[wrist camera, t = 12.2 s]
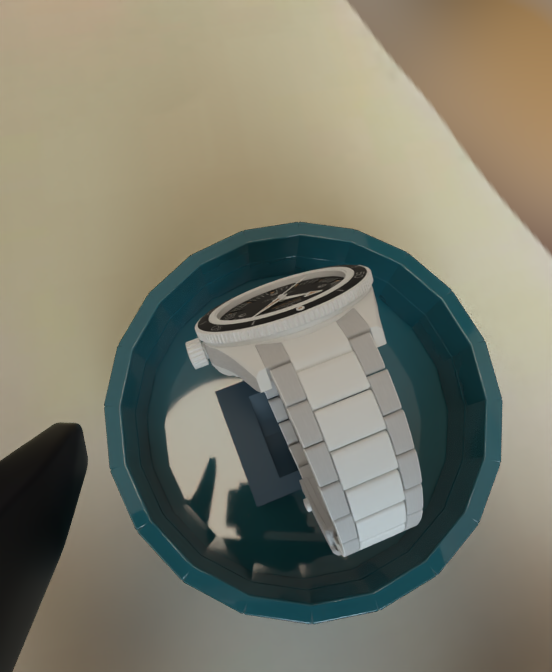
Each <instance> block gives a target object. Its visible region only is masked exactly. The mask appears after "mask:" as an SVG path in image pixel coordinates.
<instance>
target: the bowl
mask: <svg viewBox="0 0 552 672" xmlns="http://www.w3.org/2000/svg"><path fill="white" fill-rule="evenodd" d="M338 265H361V266H366V267H368V268H369V269H370V270H371V273H372V277H373V283H372V287H373V291H374V294H375V298H376V302H377V305H378V311H379V317H380V321H381V324H382V328H383V331H384V335H385V339H386V342H387V343H386V344H385V345H382V346H380V347H377V348H378V350H379V353H380V355H381V357H382V360H383V362H384V365H385V368H384V369H383V370H385V369H386V370H388V372H389V374H390V377H391V379H392V382H393V384H394V387H395V390H396V392H397V395H398V398H399V401H400V403H401V410H403V411H404V413H405V416H406V419H407V422H408V425H409V429H410V432H411V436H412V440H413V443H414V449H415V450H416V453H417V456H418V461H419V466H420V471H421V478H422V482H421V485H422V491H423V508H422V511H423V513H422V518H421V520H420V522H419V523H418V525H416V526H414V527H412V528H410V529H407V530H405V531H403V532H401V533H398V534H396V535H394V536H392V537H389V538H387V539H385V540H382V541H380V542H378V543H376V544H373V545H371V546H369V547H366V548H364V549H362V550H359V551H357V552H355V553H352V554H350V555H348V556H346V557H343V556H342V555H339V556H338V555H336V554H334V553H333V552H332V550H331V548H330V546H329V544H328V542H327V541H326V539H325V537H324V535H323V533H322V531H321V529H320V527H319V525H318V523H317V521H316V518H315V516H314V514H313V512H312V511H310V512H308V511H307V510H306V508H305V505H304V502H303V499H305V498H306V497H305V495H304V493H303V490H302V489H300V490H298V491H295V492H293V493H291V494H288V495H286V496H283V497H281V498H279V499H276V500H274V501H271V502H269V503H267V504H264V505H262V506H259V507H257V505H256V502H255V500H254V497H253V494H252V492H251V489H250V486H249V483H248V481H247V478H246V475H245V473H244V470H243V467H242V464H241V462H240V459H239V456H238V453H237V451H236V448H235V445H234V443H233V440H232V437H231V434H230V432H229V429H228V426H227V424H226V421H225V418H224V415H223V413H222V410H221V407H220V405H219V402H218V399H217V396H216V394H215V392H216V391H218V390H221V389H223V388H226V387H229V386H231V385H234V384H236V383H239V382H241V381H244V380H243V379H241V378H240V377H236V376H227V375H224V374H222V373H220V372H219V371H218V370H217V369H216V368H215V367H214V366H213V365H212V363H211V361H210V359H208V361H209V365H206V366H204V367H201V368H198V369H195V368H194V366H193V365H192V363H191V361H190V358H189V356H188V353H187V349H186V344H185V343H186V342H188V341H191V340H194V339H196V338H198V336H197V334H196V331H195V325H196V324H197V322H198V321H199V320H200V319H201V318H202V317H203V316H204V315H205V314H206V313H208V312H209V311H210V310H212V309H213V308H215V307H217V306H218V305H220V304H222V303H224V302H225V301H227V300H229V299H231V298H233V297H235V296H237V295H240V294H242V293H244V292H246V291H249V290H251V289H254V288H256V287H259V286H261V285H264V284H267V283H270V282H272V281H275V280H278V279H281V278H285V277H288V276H291V275H295V274H298V273H302V272H306V271H310V270H315V269H319V268H324V267H330V266H338ZM201 342H203V341H201ZM383 370H380V371H383ZM380 371H378V372H380ZM378 372H375V373H378ZM375 373H373V374H375ZM373 374H370V375H373ZM370 375H369V376H370ZM501 399H502V397H501V394H500V390H499V387H498V383H497V380H496V376H495V373H494V369H493V366H492V363H491V359H490V356H489V352H488V349H487V345H486V342H485V341H484V338H483V337H482V335H481V334H480V332H479V331H478V329H477V328H476V326H475V325H474V323H473V322H472V320H471V319H470V317H469V315H468V314H467V312H466V311H465V309H464V308H463V306H462V305H461V303H460V302H459V300H458V299H457V297H456V296H455V294H454V293H453V292H452V291H451V289H450V288H449V287H448V286H446V285H445V284H444V283H443V282H442V281H441V280H439V279H438V278H437V277H436V276H435V275H433V274H432V273H431V272H430V271H429V270H428V269H426V268H425V267H424V266H423V265H422V264H420V263H419V262H418V261H417V260H416V259H415V258H413V257H412V256H411V255H410V254H409V253H407V252H405V251H403V250H401V249H399V248H396V247H394V246H392V245H390V244H387V243H385V242H383V241H381V240H378V239H376V238H374V237H372V236H369V235H367V234H365V233H363V232H360V231H358V230H354V229H349V228H342V227H335V226H327V225H320V224H312V223H305V222H299V223H298V222H294V223H288V224H281V225H275V226H268V227H262V228H255V229H249V230H244V231H241V232H238V233H236V234H234V235H232V236H230V237H228V238H226V239H224V240H222V241H219V242H217V243H215V244H213V245H211V246H209V247H207V248H205V249H203V250H200V251H198V252H196V253H194V254H192V255H190V256H189V257H188V258H187V259H186V260H185V261H184V262H183V263H181V264H180V265H179V266H178V267H177V268H176V269H175V270H174V271H173V272H172V273H170V274H169V275H168V276H167V277H166V278H165V279H164V280H163V281H162V282H161V283H159V284H158V285H157V286H156V287H155V288H154V289H153V290H152V291H151V292H150V293H149V295H147V297H146V299H145V300H144V302H143V304H142V305H141V307H140V309H139V311H138V312H137V314H136V316H135V317H134V319H133V321H132V322H131V324H130V326H129V328H128V329H127V331H126V333H125V334H124V336H123V338H122V339H121V341H120V343H119V346H118V347H117V351H116V355H115V359H114V364H113V368H112V373H111V377H110V381H109V386H108V390H107V394H106V399H105V403H104V406H105V407H104V411H105V422H106V433H107V444H108V456H109V467H110V469H111V474H112V476H113V479H114V481H115V483H116V485H117V488H118V490H119V492H120V495H121V497H122V499H123V502H124V504H125V506H126V508H127V511H128V513H129V515H130V518H131V520H132V522H133V524H134V527H135V529H136V530H138V531H137V532H138V533H139V535H140V536H141V537H142V538H143V539H144V540H145V541H146V542H147V543H148V544H149V545H150V547H151V548H152V549H153V550H154V551H155V552H156V553H157V554H158V555H159V556H160V558H161V559H162V560H163V561H164V562H165V563H166V564H167V565H168V566H169V567H170V569H171V570H172V571H173V572H174V573H175V574H176V575H177V576H178V577H179V578H180V579H181V580H183V582H184V583H186V584H188V585H190V586H191V587H193V588H195V589H197V590H199V591H201V592H203V593H204V594H206V595H208V596H210V597H212V598H214V599H216V600H217V601H219V602H221V603H223V604H225V605H227V606H229V607H230V608H232V609H234V610H236V611H238V612H240V613H242V614H243V613H244V614H245V615H251V616H258V617H264V618H271V619H278V620H284V621H291V622H297V623H304V624H311V623H312V624H318V623H323V622H328V621H333V620H337V619H342V618H347V617H352V616H357V615H362V614H367V613H372V612H377V611H378V610H382V609H383V608H385V607H387V606H388V605H390V604H392V603H393V602H395V601H396V600H398V599H400V598H401V597H403V596H405V595H406V594H408V593H410V592H411V591H413V590H414V589H416V588H418V587H419V586H421V585H423V584H424V583H426V582H428V581H429V580H431V579H432V578H434V577H435V576H436V575H438V574H439V573H440V572H441V571H442V569H443V568H444V567H445V566H446V564H447V563H448V562H449V561H450V559H451V558H452V557H453V556H454V554H455V553H456V552H457V551H458V549H459V548H460V547H461V546H462V544H463V543H464V542H465V541H466V539H467V538H468V537H469V536H470V534H471V533H472V532H473V531H474V529H475V528H476V527H477V526H478V523H479V522H480V519H481V516H482V514H483V511H484V508H485V505H486V502H487V500H488V497H489V494H490V491H491V488H492V486H493V483H494V480H495V477H496V474H497V472H498V469H499V466H500V462H501V436H502V400H501ZM389 414H390V413H389Z"/></svg>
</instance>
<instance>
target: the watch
mask: <svg viewBox="0 0 552 672" xmlns="http://www.w3.org/2000/svg"><path fill="white" fill-rule="evenodd" d="M372 283H373V277H372V273H371V270H370V269H369V268H368V267H366V266H361V265H338V266H330V267H324V268H319V269H315V270H310V271H306V272H302V273H298V274H295V275H291V276H288V277H285V278H281V279H278V280H275V281H272V282H270V283H267V284H264V285H261V286H259V287H256V288H254V289H251V290H249V291H246V292H244V293H242V294H240V295H237V296H235V297H233V298H231V299H229V300H227V301H225V302H224V303H222V304H220V305H218V306H217V307H215V308H213V309H212V310H210V311H209V312H208V313H206V314H205V315H204V316H203V317H202V318H201V319H200V320H199V321H198V322H197V324H196V325H195V331H196V334H197V336H198V338H196V339H194V340H191V341H188V342H186V343H185V344H186V349H187V353H188V356H189V358H190V361H191V363H192V365H193V366H194V368H195V369H198V368H201V367H204V366H206V365H209V361H208V359H210V361H211V363H212V365H213V366H214V367H215V368H216V369H217V370H218V371H219V372H220V373H222V374H224V375H227V376H236V377H240V378H241V379H243V380H244V381H241V382H239V383H236V384H234V385H231V386H229V387H226V388H223V389H221V390H218V391H216V392H215V394H216V396H217V399H218V402H219V405H220V407H221V410H222V413H223V415H224V418H225V421H226V424H227V426H228V429H229V432H230V434H231V437H232V440H233V443H234V445H235V448H236V451H237V453H238V456H239V459H240V462H241V464H242V467H243V470H244V473H245V475H246V478H247V481H248V483H249V486H250V489H251V492H252V494H253V497H254V500H255V502H256V505H257V507H259V506H262V505H264V504H267V503H269V502H271V501H274V500H276V499H279V498H281V497H283V496H286V495H288V494H291V493H293V492H295V491H298V490H300V489H302V490H303V493H304V495H305V497H306V498H305V499H303V502H304V505H305V508H306V510H307V511H308V512H310V511H312V512H313V514H314V516H315V518H316V521H317V523H318V525H319V527H320V529H321V531H322V533H323V535H324V537H325V539H326V541H327V542H328V544H329V546H330V548H331V550H332V552H333V553H334V554H336V555H338V556H339V555H342V556H343V557H346V556H348V555H350V554H352V553H355V552H357V551H359V550H362V549H364V548H366V547H369V546H371V545H373V544H376V543H378V542H380V541H382V540H385V539H387V538H389V537H392V536H394V535H396V534H398V533H401V532H403V531H405V530H407V529H410V528H412V527H414V526H416V525H418V523H419V522H420V520H421V518H422V513H423V511H422V508H423V491H422V485H421V482H422V478H421V471H420V466H419V461H418V456H417V453H416V450H415V449H414V443H413V440H412V436H411V432H410V429H409V425H408V422H407V419H406V416H405V413H404V411H403V410H401V403H400V401H399V398H398V395H397V392H396V390H395V387H394V384H393V382H392V379H391V377H390V374H389V372H388V370H386V369H385V370H383V369H384V368H385V365H384V362H383V360H382V357H381V355H380V353H379V350H378V348H377V347H380V346H382V345H385V344H386V343H387V342H386V339H385V335H384V331H383V328H382V324H381V321H380V317H379V311H378V305H377V302H376V298H375V294H374V291H373V287H372ZM201 341H203V342H201ZM380 370H383V371H380ZM378 371H380V372H378ZM375 372H378V373H375ZM373 373H375V374H373ZM370 374H373V375H370ZM369 375H370V376H369ZM389 413H390V414H389Z"/></svg>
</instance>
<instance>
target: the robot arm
mask: <svg viewBox="0 0 552 672" xmlns="http://www.w3.org/2000/svg"><path fill="white" fill-rule="evenodd" d="M87 465H88V456H87V451H86V446H85V441H84V436H83V431H82V428H81V426H80V425H79V424H77V423H56V424H54V425H52V426H51V427H49V428H48V429H46V430H45V431H43V432H42V433H40V434H39V435H37V436H36V437H34V438H33V439H32V440H30V441H29V442H27V443H26V444H24V445H23V446H21V447H20V448H18V449H17V450H15V451H14V452H12V453H11V454H9V455H8V456H7V457H5V458H4V459H2V460H1V461H0V672H12V671H13V669H14V666H15V664H16V661H17V659H18V657H19V654H20V652H21V649H22V647H23V645H24V642H25V640H26V637H27V635H28V633H29V630H30V628H31V625H32V623H33V621H34V618H35V616H36V613H37V611H38V609H39V606H40V604H41V601H42V599H43V597H44V594H45V592H46V589H47V587H48V585H49V582H50V580H51V577H52V575H53V573H54V570H55V568H56V565H57V563H58V561H59V558H60V556H61V553H62V550H63V548H64V545H65V542H66V539H67V535H68V532H69V529H70V525H71V522H72V518H73V515H74V512H75V508H76V505H77V501H78V498H79V494H80V491H81V487H82V484H83V481H84V477H85V474H86V470H87Z"/></svg>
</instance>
